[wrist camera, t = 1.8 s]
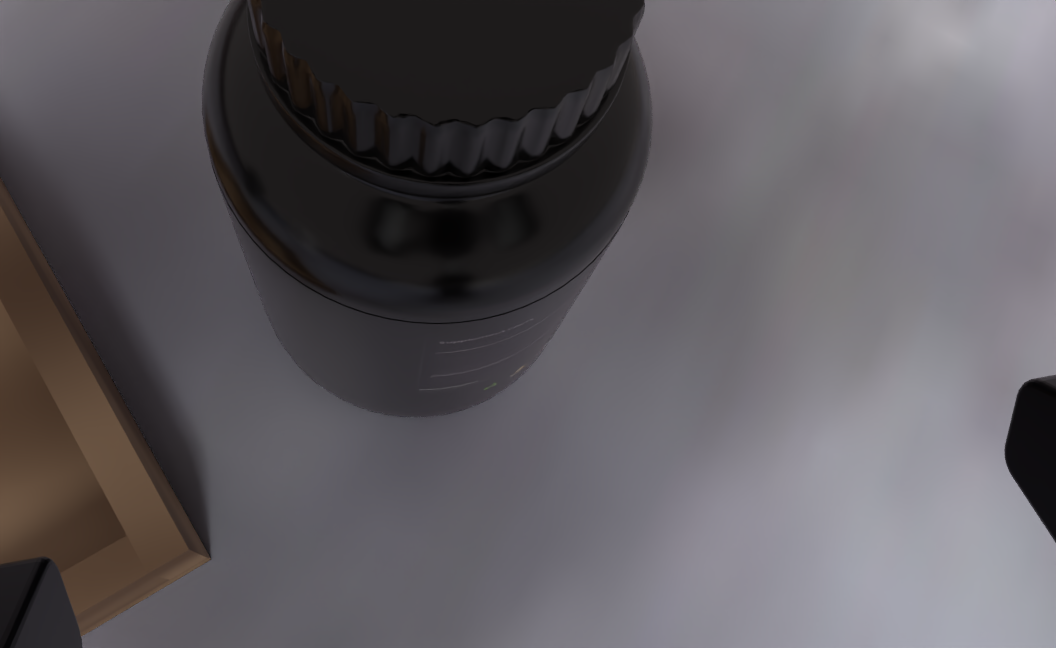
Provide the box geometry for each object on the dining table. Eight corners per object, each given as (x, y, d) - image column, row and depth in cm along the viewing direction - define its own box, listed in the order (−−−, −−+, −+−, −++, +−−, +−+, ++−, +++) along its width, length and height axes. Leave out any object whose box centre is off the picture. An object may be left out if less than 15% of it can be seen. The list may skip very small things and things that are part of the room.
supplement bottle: (200, 249, 22) (14, -150, 11) (441, 96, 24) (494, -377, 13) (385, 491, 21) (390, 328, 10) (621, 310, 23) (851, 2, 12)
